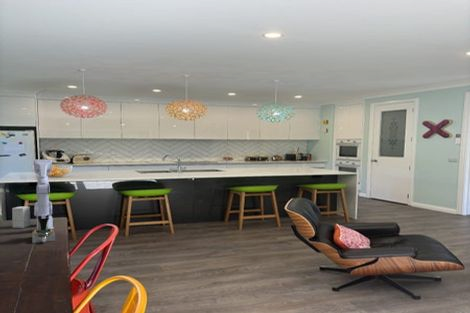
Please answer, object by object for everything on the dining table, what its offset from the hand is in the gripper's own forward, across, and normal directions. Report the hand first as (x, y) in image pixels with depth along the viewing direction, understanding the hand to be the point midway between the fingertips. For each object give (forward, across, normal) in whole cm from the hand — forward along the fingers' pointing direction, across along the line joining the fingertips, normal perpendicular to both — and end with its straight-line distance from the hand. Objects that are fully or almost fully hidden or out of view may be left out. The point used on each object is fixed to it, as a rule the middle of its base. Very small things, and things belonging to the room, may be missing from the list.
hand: (43, 229), depth 208 cm
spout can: (+2, 0, 0) cm, 2 cm away
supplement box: (+5, -38, -12) cm, 41 cm away
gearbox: (+5, +5, 0) cm, 7 cm away
